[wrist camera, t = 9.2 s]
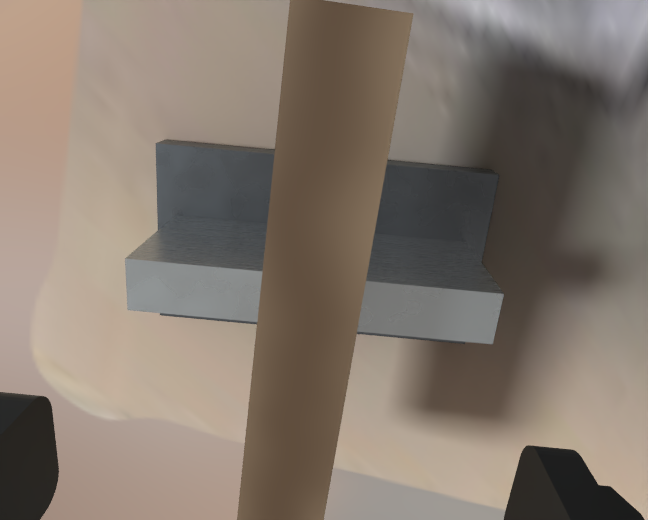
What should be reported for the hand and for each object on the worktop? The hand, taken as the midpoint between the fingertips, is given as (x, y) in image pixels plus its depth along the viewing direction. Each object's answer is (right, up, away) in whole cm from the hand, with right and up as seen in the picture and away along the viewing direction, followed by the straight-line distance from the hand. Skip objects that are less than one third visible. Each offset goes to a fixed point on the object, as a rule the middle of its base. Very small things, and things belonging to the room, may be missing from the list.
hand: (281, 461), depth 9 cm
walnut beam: (0, +2, +13) cm, 13 cm away
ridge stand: (+1, +5, +21) cm, 22 cm away
